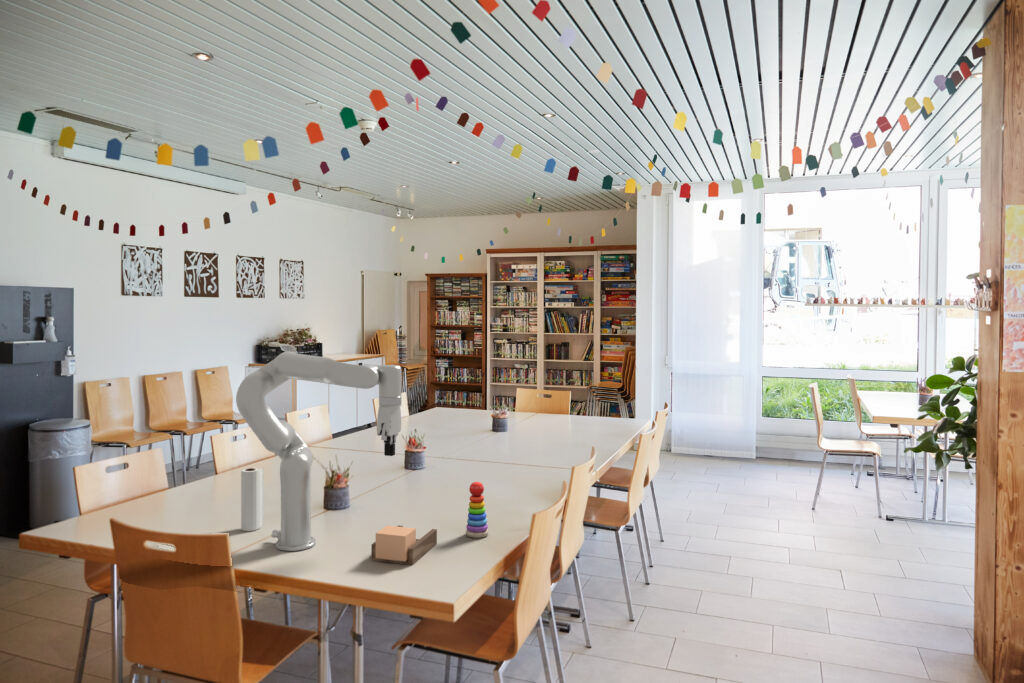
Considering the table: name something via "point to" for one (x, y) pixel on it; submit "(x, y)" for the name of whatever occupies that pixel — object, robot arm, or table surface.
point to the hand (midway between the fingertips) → (389, 455)
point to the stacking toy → (476, 513)
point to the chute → (413, 548)
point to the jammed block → (394, 542)
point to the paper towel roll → (252, 499)
